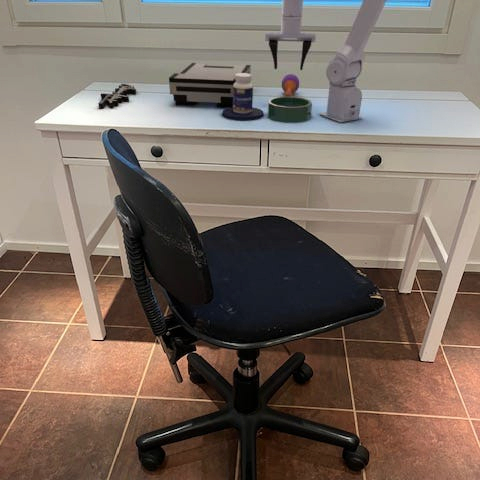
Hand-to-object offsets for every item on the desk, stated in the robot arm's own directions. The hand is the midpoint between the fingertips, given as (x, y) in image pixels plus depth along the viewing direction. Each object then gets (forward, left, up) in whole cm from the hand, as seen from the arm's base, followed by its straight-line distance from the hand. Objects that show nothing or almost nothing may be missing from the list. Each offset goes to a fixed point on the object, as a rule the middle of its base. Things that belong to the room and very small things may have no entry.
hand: (288, 68), depth 146 cm
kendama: (+7, -6, -11) cm, 14 cm away
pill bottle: (-2, +18, -10) cm, 20 cm away
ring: (-10, +7, -10) cm, 16 cm away
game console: (+22, +14, -11) cm, 28 cm away
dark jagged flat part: (+35, +43, -11) cm, 56 cm away
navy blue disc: (-2, +18, -10) cm, 20 cm away
